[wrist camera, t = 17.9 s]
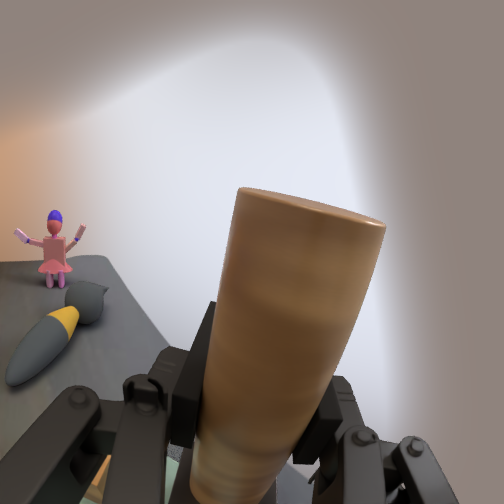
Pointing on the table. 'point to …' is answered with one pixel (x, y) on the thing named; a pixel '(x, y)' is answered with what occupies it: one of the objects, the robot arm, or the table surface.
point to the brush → (274, 340)
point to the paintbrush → (54, 332)
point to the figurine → (53, 249)
